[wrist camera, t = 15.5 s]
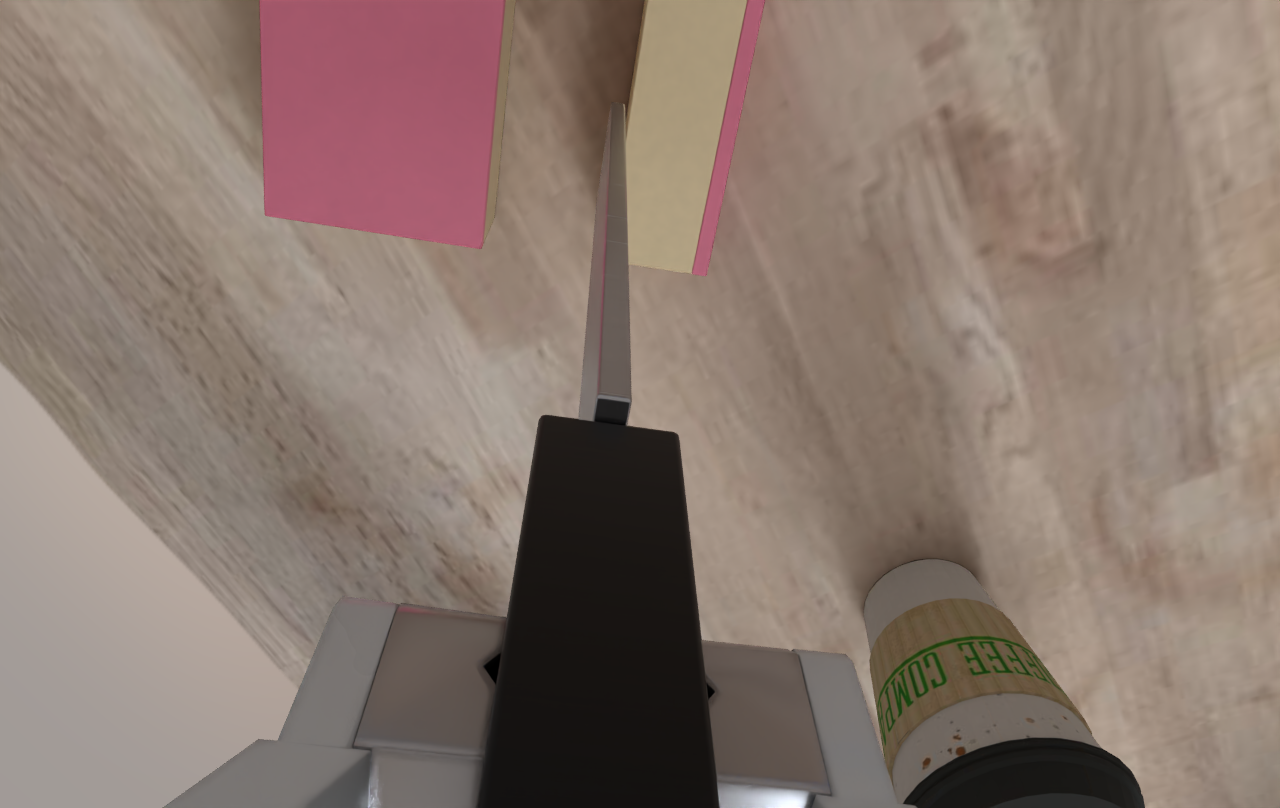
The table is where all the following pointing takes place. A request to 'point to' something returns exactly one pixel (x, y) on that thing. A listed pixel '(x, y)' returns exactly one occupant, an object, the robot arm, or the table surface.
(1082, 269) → the table surface
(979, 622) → the coffee cup
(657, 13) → the cake slice
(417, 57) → the cake
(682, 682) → the knife
